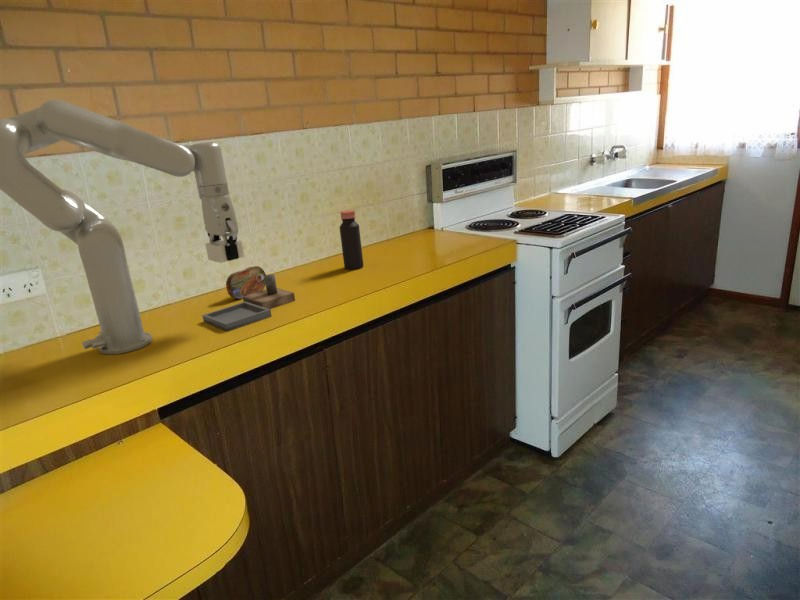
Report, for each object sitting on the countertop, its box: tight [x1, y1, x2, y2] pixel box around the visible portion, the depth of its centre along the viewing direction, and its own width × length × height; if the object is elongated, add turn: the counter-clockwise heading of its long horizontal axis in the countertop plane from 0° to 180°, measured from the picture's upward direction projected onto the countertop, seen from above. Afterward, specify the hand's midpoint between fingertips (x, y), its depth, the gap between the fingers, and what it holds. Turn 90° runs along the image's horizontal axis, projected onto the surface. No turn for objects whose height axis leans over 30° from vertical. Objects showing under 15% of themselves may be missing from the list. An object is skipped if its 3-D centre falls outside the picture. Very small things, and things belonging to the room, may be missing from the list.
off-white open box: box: [204, 237, 245, 264], centre depth 154 cm, size 7×7×4 cm
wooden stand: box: [242, 273, 296, 310], centre depth 171 cm, size 11×11×8 cm
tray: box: [201, 301, 272, 332], centre depth 159 cm, size 14×14×2 cm
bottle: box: [339, 209, 364, 271], centre depth 200 cm, size 7×7×20 cm
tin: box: [225, 265, 267, 300], centre depth 181 cm, size 15×3×8 cm, turn 148°
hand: (226, 257), depth 154 cm, fingers closed on off-white open box, 6 cm apart
